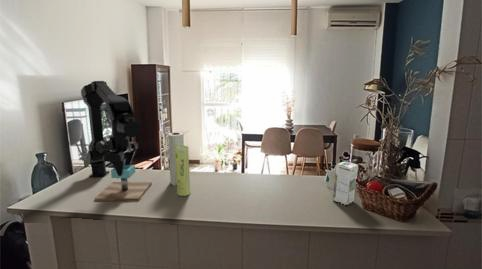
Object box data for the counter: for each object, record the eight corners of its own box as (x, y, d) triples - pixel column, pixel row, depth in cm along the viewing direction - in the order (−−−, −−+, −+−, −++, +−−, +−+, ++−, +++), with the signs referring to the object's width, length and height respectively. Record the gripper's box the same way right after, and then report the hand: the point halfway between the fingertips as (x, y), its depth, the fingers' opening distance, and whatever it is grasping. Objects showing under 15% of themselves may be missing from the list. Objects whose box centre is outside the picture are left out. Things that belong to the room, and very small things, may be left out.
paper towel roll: (178, 178, 129) (176, 131, 125) (188, 182, 126) (186, 133, 121) (165, 183, 124) (162, 134, 119) (175, 187, 120) (173, 136, 116)
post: (123, 188, 116) (122, 176, 115) (129, 188, 116) (128, 176, 115) (120, 190, 114) (119, 178, 113) (126, 190, 114) (125, 178, 113)
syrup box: (339, 197, 112) (343, 160, 109) (354, 202, 108) (358, 164, 105) (332, 201, 108) (335, 163, 105) (347, 206, 104) (351, 167, 101)
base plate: (113, 184, 123) (113, 181, 123) (151, 184, 123) (151, 182, 123) (94, 200, 107) (94, 198, 107) (138, 201, 107) (138, 198, 107)
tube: (174, 196, 111) (172, 146, 107) (176, 191, 116) (174, 143, 112) (189, 196, 112) (188, 146, 107) (191, 191, 116) (189, 143, 112)
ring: (118, 172, 117) (118, 164, 116) (135, 172, 117) (134, 165, 116) (111, 178, 110) (110, 170, 110) (129, 178, 110) (128, 170, 110)
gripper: (109, 127, 119) (112, 164, 122) (85, 138, 101) (90, 181, 104) (137, 128, 119) (139, 165, 122) (118, 138, 101) (121, 181, 104)
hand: (123, 172), depth 113 cm, fingers closed on ring, 7 cm apart
